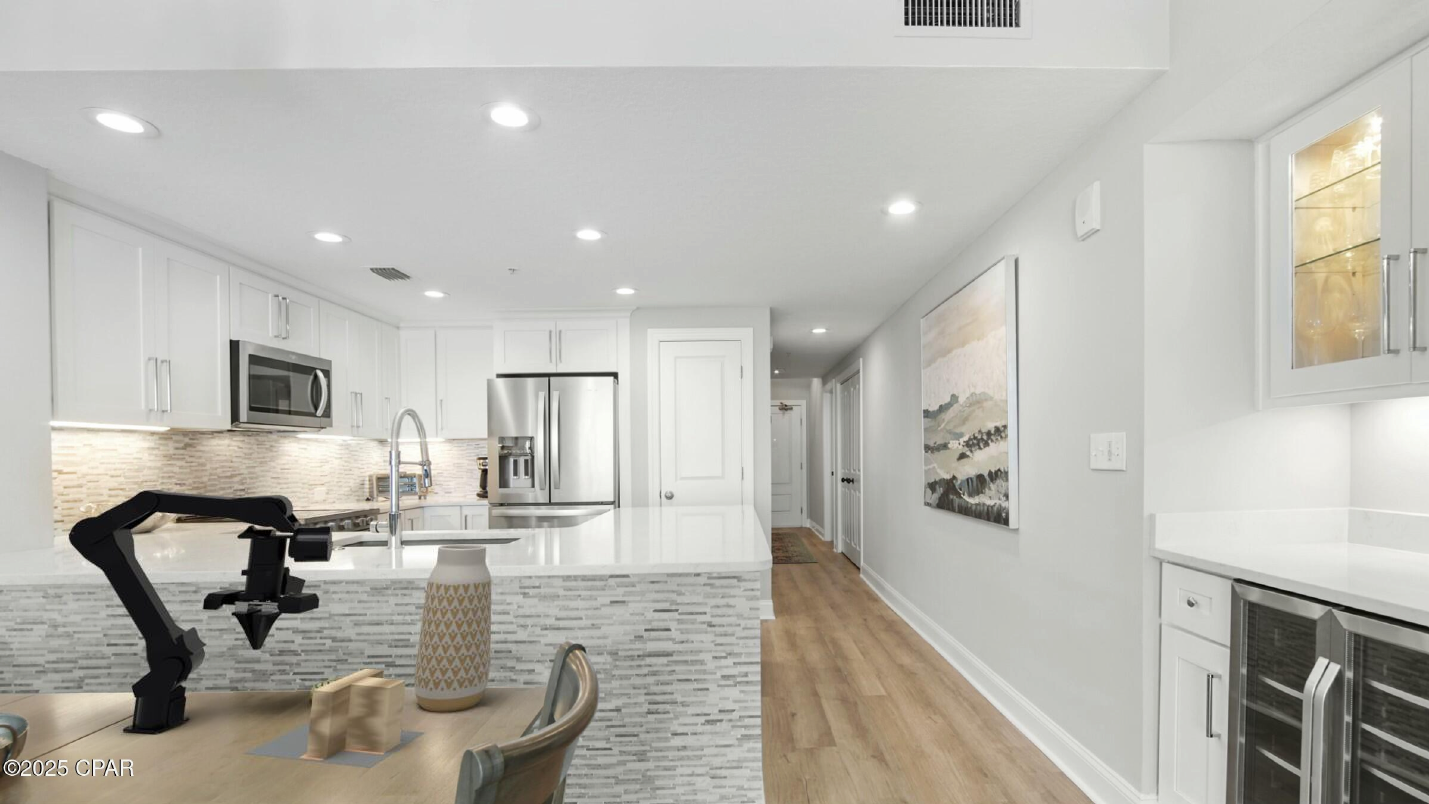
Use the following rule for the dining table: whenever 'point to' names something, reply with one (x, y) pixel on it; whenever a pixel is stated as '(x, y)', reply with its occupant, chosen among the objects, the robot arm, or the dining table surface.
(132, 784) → the dining table surface
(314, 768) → the dining table surface
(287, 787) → the dining table surface
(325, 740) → the maple T block
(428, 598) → the vase
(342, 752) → the slate mat
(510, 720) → the dining table surface
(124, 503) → the robot arm
